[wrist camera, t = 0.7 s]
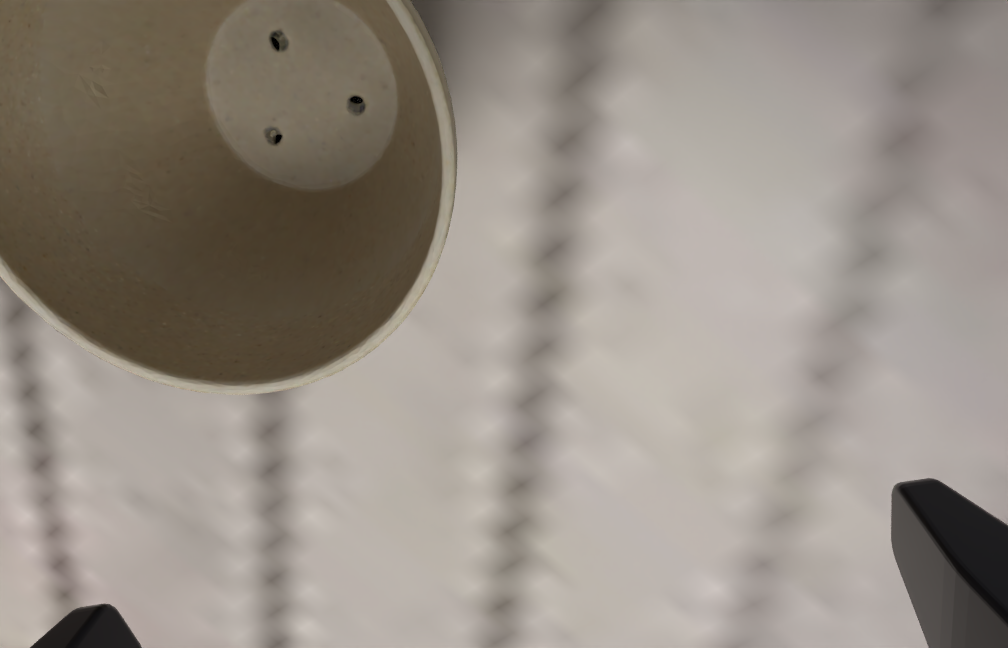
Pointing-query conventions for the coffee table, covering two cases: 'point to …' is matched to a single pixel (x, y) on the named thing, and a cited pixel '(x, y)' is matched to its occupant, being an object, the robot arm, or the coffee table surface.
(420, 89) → the flower pot
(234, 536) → the coffee table surface
